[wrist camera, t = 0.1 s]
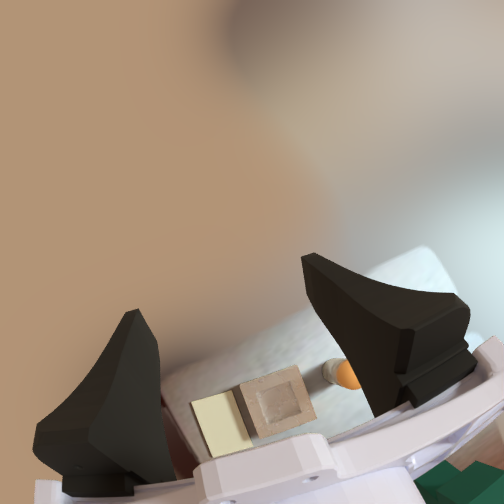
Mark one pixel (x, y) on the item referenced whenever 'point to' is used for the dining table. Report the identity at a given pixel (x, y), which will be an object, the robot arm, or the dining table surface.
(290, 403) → the block
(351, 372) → the orange capped bottle
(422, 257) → the dining table surface
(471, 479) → the power tool
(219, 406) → the key mat
